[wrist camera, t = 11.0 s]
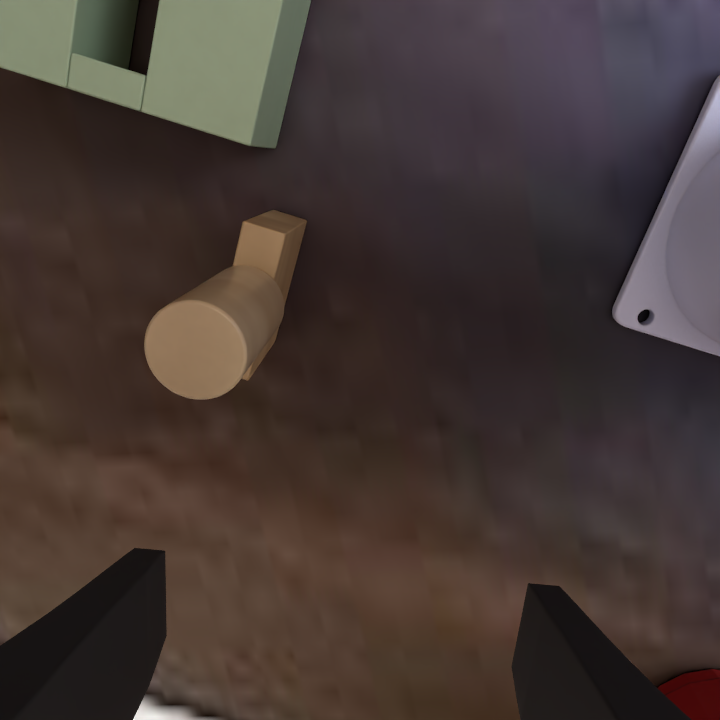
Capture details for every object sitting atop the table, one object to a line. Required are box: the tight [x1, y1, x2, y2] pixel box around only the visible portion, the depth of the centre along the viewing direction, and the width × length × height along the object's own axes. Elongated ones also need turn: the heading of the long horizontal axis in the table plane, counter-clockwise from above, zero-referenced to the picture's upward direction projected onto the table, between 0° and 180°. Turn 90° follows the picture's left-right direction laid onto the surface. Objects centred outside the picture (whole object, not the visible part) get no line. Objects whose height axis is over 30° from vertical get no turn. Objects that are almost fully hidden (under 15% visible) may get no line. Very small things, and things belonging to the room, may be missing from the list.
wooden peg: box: [144, 210, 307, 399], centre depth 17 cm, size 2×4×8 cm, turn 163°
